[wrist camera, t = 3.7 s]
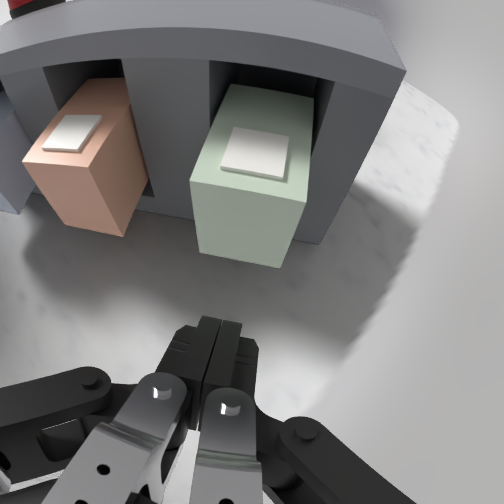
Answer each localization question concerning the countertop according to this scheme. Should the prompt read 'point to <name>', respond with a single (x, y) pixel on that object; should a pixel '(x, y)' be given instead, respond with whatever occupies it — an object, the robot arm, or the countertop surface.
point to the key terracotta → (91, 159)
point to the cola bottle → (29, 6)
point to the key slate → (13, 159)
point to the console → (210, 80)
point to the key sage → (253, 175)
